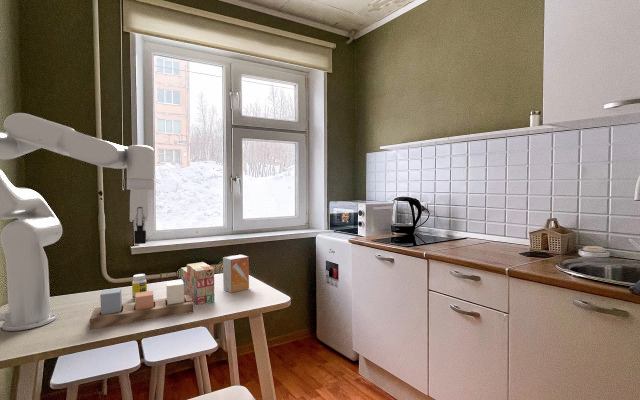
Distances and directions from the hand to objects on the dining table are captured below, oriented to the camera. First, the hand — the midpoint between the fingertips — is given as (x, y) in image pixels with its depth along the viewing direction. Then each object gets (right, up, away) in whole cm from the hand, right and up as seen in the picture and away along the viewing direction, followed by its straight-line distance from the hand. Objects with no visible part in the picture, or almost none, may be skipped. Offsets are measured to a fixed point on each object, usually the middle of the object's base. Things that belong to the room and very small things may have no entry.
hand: (140, 243), depth 107 cm
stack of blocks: (+11, -23, +20) cm, 32 cm away
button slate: (-7, -20, -3) cm, 22 cm away
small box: (+24, -22, +27) cm, 42 cm away
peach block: (+1, -22, +1) cm, 22 cm away
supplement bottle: (-10, -23, +18) cm, 31 cm away
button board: (+1, -23, +1) cm, 23 cm away
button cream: (+9, -20, +5) cm, 22 cm away
